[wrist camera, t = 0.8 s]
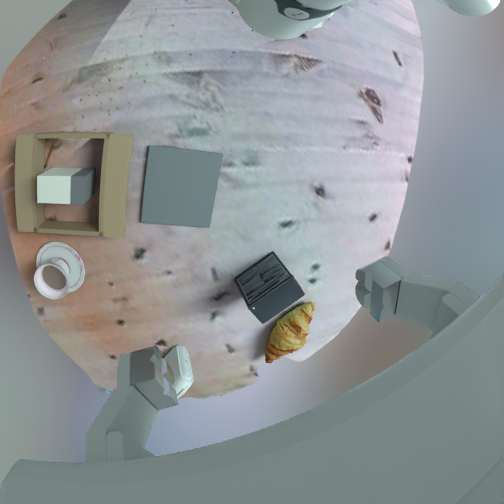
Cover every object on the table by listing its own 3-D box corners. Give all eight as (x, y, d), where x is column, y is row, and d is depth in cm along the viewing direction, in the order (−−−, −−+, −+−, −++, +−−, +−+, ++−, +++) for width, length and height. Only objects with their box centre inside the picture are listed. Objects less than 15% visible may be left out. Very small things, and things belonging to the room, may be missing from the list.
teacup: (66, 231, 43) (56, 244, 38) (95, 279, 50) (90, 296, 44) (27, 254, 42) (16, 269, 37) (56, 298, 48) (49, 315, 43)
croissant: (296, 288, 70) (296, 298, 62) (328, 307, 69) (331, 319, 61) (255, 347, 75) (249, 361, 67) (284, 364, 74) (282, 379, 66)
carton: (26, 133, 32) (16, 135, 29) (136, 134, 40) (133, 135, 37) (26, 223, 39) (17, 231, 36) (127, 229, 47) (124, 237, 44)
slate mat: (149, 145, 42) (149, 145, 41) (222, 154, 46) (223, 154, 46) (141, 221, 47) (141, 222, 47) (209, 226, 52) (209, 227, 51)
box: (52, 167, 37) (37, 175, 31) (95, 168, 40) (84, 176, 34) (52, 191, 39) (37, 202, 33) (94, 193, 42) (83, 204, 36)
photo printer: (176, 342, 63) (181, 381, 52) (190, 348, 65) (197, 386, 54) (155, 364, 64) (158, 402, 54) (169, 369, 67) (174, 407, 56)
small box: (248, 296, 62) (262, 326, 54) (232, 278, 59) (246, 308, 50) (286, 269, 62) (306, 296, 53) (273, 250, 59) (293, 275, 50)
